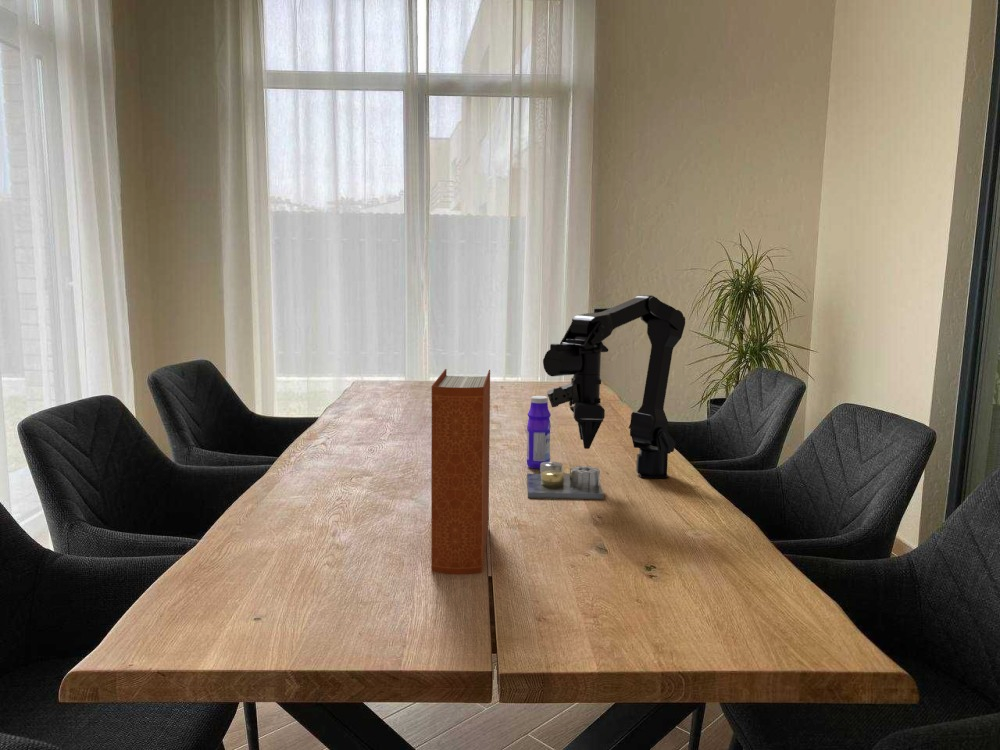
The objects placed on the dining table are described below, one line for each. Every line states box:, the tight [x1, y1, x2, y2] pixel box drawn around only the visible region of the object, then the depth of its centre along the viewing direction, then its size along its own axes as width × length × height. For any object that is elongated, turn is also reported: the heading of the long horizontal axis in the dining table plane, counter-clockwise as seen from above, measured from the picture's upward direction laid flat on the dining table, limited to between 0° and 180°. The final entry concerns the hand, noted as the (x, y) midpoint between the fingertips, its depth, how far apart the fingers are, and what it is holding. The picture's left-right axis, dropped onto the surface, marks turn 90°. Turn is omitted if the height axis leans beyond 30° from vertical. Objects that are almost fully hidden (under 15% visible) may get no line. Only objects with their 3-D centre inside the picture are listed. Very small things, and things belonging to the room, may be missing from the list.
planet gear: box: [569, 465, 600, 489], centre depth 176 cm, size 6×6×4 cm
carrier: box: [526, 461, 605, 500], centre depth 177 cm, size 16×16×5 cm
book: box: [430, 368, 491, 576], centre depth 136 cm, size 23×8×30 cm, turn 178°
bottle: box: [526, 395, 552, 470], centre depth 196 cm, size 7×6×17 cm
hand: (584, 444), depth 175 cm, fingers open, 9 cm apart
